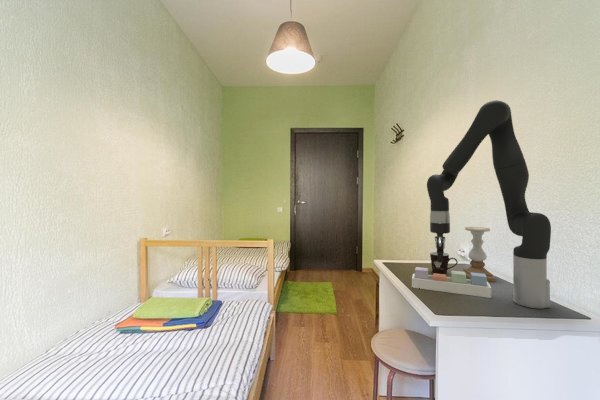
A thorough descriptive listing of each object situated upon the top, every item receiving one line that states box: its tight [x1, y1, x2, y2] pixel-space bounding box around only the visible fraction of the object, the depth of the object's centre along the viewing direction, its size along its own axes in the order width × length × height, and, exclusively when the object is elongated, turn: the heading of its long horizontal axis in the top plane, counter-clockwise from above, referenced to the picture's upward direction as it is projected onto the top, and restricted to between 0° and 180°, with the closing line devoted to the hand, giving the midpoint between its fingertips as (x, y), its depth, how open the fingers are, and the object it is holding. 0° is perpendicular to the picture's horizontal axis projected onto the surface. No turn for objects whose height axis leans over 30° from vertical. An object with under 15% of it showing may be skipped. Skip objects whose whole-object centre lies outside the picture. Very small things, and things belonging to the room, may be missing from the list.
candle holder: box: [460, 226, 496, 283], centre depth 130 cm, size 11×11×24 cm
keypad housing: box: [411, 273, 492, 299], centre depth 115 cm, size 28×8×4 cm, turn 63°
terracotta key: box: [432, 272, 447, 282], centre depth 116 cm, size 5×5×4 cm
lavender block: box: [414, 266, 429, 280], centre depth 119 cm, size 5×5×4 cm
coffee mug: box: [429, 251, 458, 276], centre depth 137 cm, size 12×9×10 cm
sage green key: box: [450, 270, 466, 284], centre depth 113 cm, size 5×5×4 cm
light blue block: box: [471, 273, 487, 287], centre depth 110 cm, size 5×5×4 cm
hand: (440, 261), depth 117 cm, fingers closed
